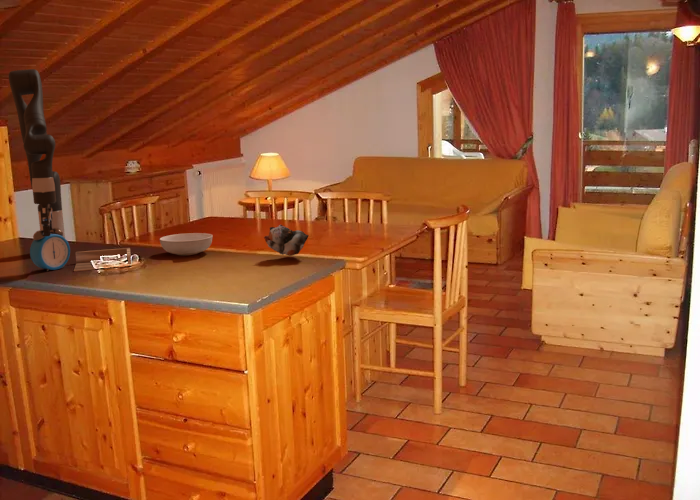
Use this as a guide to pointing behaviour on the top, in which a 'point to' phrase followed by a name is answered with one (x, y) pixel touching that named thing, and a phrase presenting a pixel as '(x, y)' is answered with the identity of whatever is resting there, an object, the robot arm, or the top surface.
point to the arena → (97, 257)
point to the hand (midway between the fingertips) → (48, 234)
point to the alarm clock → (50, 250)
